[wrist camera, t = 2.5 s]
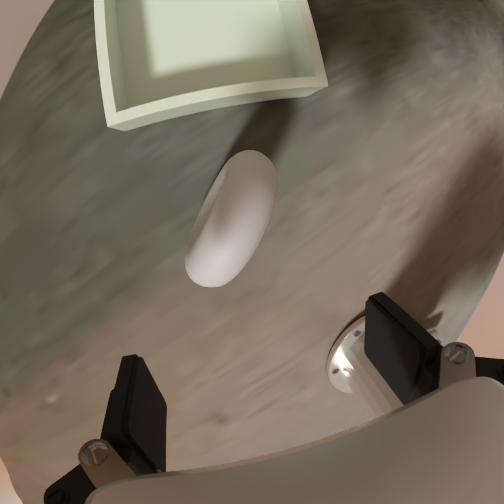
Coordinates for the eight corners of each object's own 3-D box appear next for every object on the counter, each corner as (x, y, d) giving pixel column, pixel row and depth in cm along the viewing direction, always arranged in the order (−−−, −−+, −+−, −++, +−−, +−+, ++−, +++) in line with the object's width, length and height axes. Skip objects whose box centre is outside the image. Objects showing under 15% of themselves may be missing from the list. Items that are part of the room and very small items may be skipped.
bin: (271, -39, 18) (284, -65, 13) (305, 96, 23) (328, 86, 19) (108, -12, 16) (94, -37, 12) (125, 131, 22) (107, 126, 17)
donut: (216, 263, 27) (225, 323, 18) (180, 248, 26) (170, 303, 17) (267, 161, 25) (307, 168, 15) (231, 143, 24) (249, 137, 14)
